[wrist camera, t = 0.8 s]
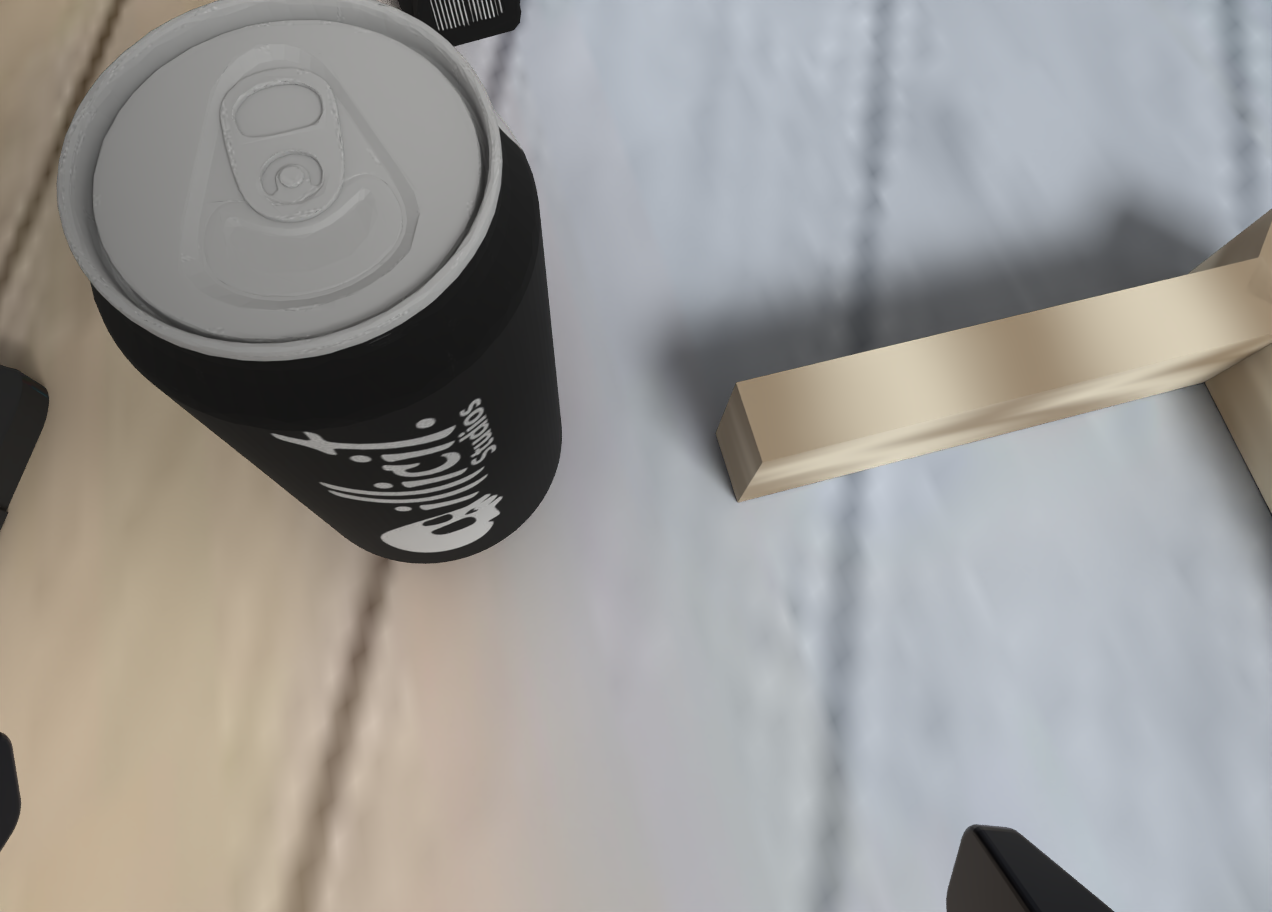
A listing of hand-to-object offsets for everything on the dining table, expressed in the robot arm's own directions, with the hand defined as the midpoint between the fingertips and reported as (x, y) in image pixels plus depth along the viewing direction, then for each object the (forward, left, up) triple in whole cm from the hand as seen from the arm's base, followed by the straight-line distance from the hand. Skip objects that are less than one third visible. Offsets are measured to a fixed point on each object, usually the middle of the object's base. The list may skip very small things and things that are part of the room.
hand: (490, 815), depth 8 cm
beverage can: (+4, +8, -13) cm, 16 cm away
